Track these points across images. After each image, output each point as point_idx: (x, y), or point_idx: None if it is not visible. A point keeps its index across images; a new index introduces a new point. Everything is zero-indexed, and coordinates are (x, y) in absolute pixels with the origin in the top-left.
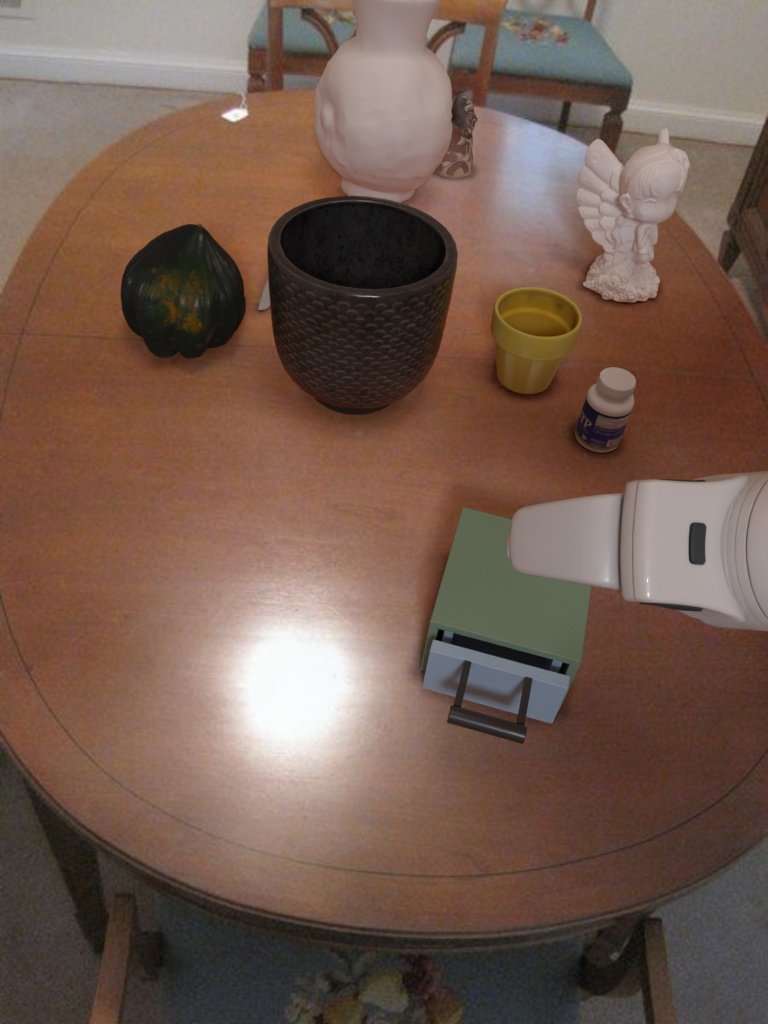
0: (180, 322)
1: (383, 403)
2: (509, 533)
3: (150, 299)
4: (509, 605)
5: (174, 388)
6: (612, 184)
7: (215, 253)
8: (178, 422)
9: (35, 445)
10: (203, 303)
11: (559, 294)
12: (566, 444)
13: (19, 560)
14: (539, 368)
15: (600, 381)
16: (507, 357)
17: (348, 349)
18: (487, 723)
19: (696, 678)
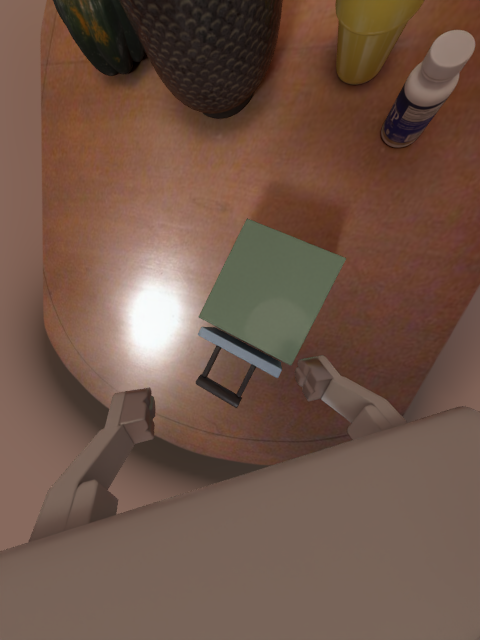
0: (92, 33)
1: (228, 106)
2: (115, 393)
3: (61, 7)
4: (254, 311)
5: (118, 103)
6: None
7: None
8: (118, 132)
9: (52, 154)
10: (96, 5)
11: None
12: (370, 139)
13: (46, 232)
14: (371, 48)
15: (428, 55)
16: (344, 36)
17: (170, 40)
18: (216, 394)
19: (387, 351)
